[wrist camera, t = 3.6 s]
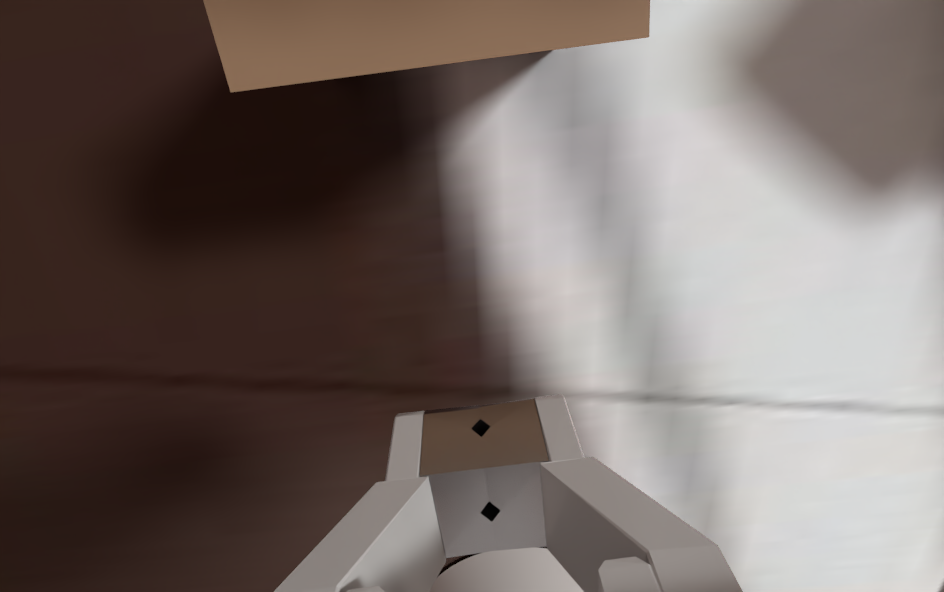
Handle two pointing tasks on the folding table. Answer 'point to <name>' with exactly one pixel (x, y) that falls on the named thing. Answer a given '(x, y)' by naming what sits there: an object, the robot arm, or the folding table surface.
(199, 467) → the folding table surface
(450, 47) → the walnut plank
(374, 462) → the folding table surface
